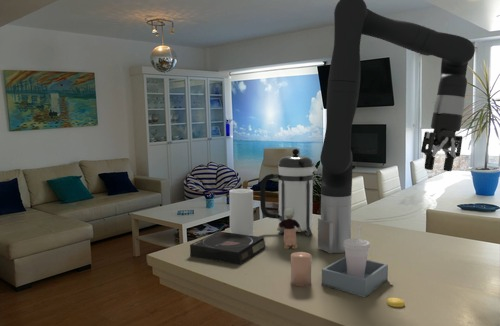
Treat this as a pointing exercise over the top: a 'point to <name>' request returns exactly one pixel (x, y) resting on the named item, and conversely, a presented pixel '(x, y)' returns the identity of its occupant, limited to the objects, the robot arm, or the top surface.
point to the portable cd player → (227, 247)
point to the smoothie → (356, 255)
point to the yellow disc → (395, 302)
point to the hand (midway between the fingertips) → (438, 170)
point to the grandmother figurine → (289, 229)
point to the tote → (341, 280)
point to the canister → (301, 269)
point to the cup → (241, 211)
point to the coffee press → (293, 190)
